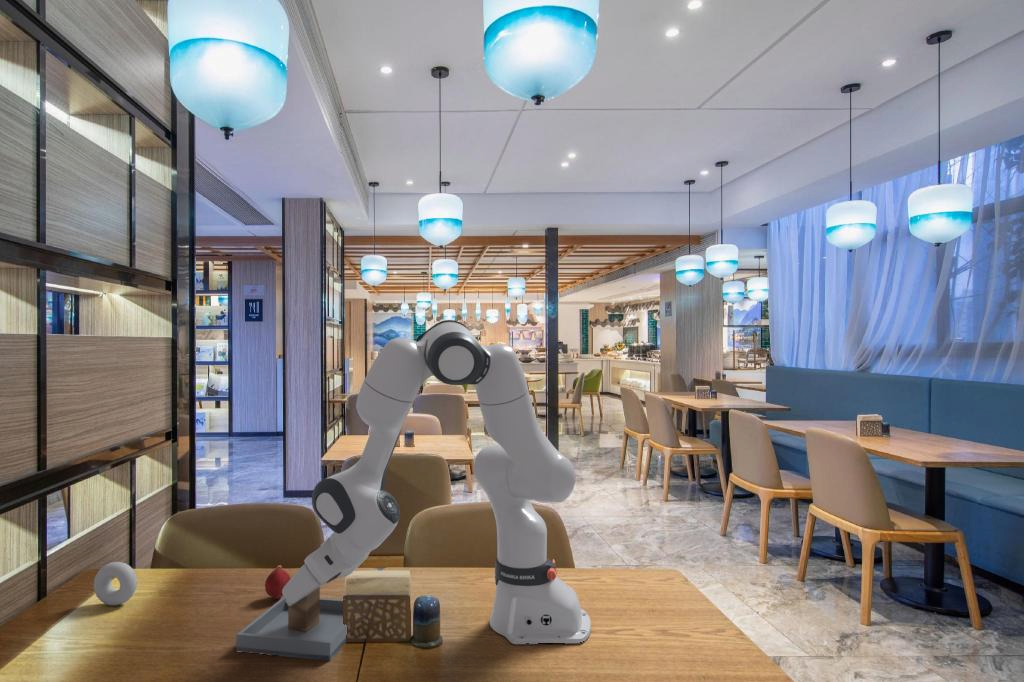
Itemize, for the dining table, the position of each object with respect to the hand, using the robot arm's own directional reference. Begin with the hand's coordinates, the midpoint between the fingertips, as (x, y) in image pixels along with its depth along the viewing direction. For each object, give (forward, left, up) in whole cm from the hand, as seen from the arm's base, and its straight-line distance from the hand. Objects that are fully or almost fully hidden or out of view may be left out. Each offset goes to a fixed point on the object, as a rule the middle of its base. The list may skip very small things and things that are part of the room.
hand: (302, 593), depth 119 cm
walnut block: (-1, 0, -7) cm, 7 cm away
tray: (-2, +1, -8) cm, 8 cm away
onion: (+13, -13, -8) cm, 20 cm away
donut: (+49, -4, -8) cm, 50 cm away
